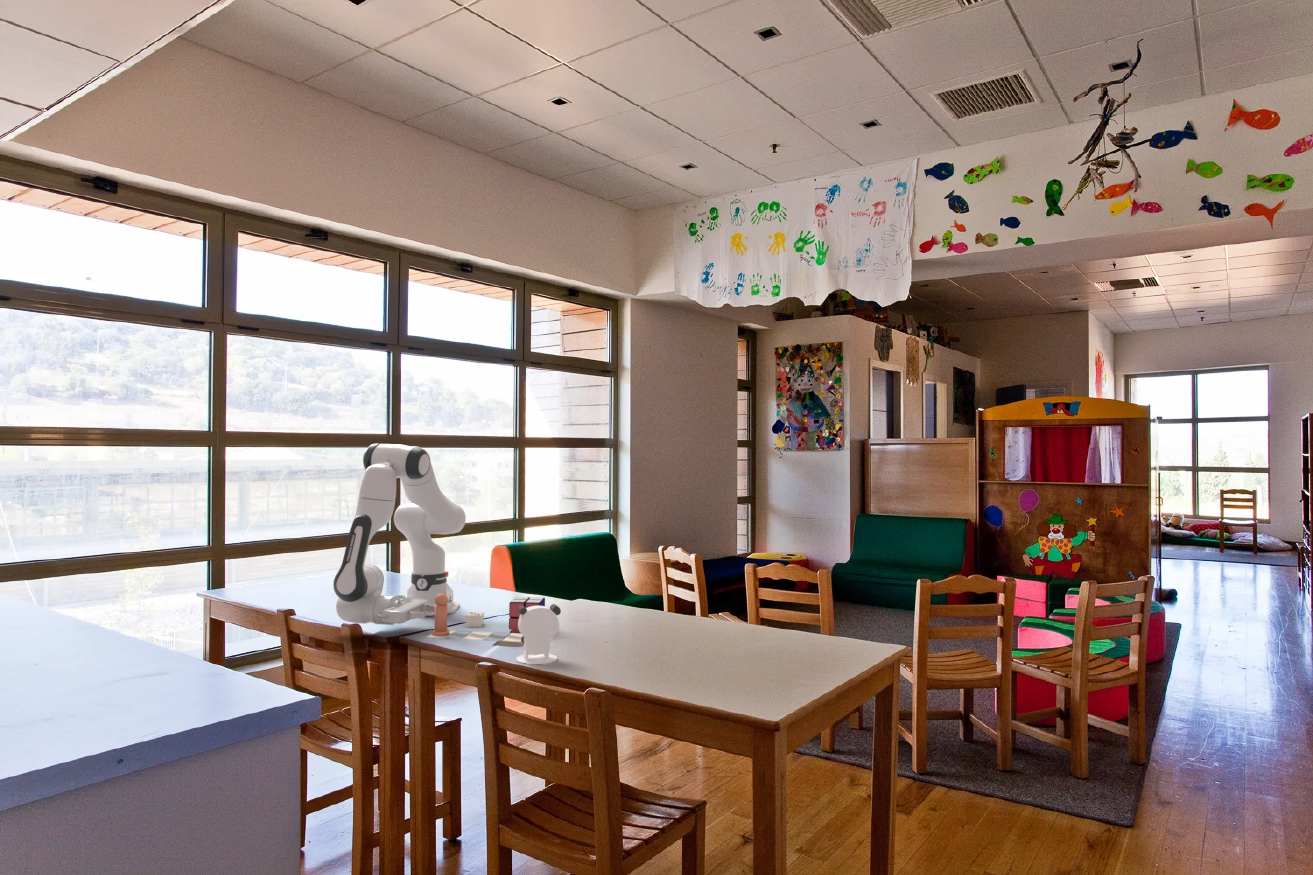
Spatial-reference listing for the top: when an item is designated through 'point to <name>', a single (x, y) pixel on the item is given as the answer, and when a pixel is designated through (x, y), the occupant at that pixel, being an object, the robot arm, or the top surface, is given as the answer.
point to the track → (501, 638)
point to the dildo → (441, 615)
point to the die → (474, 619)
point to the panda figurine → (537, 633)
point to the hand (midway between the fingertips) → (431, 611)
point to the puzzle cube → (521, 601)
